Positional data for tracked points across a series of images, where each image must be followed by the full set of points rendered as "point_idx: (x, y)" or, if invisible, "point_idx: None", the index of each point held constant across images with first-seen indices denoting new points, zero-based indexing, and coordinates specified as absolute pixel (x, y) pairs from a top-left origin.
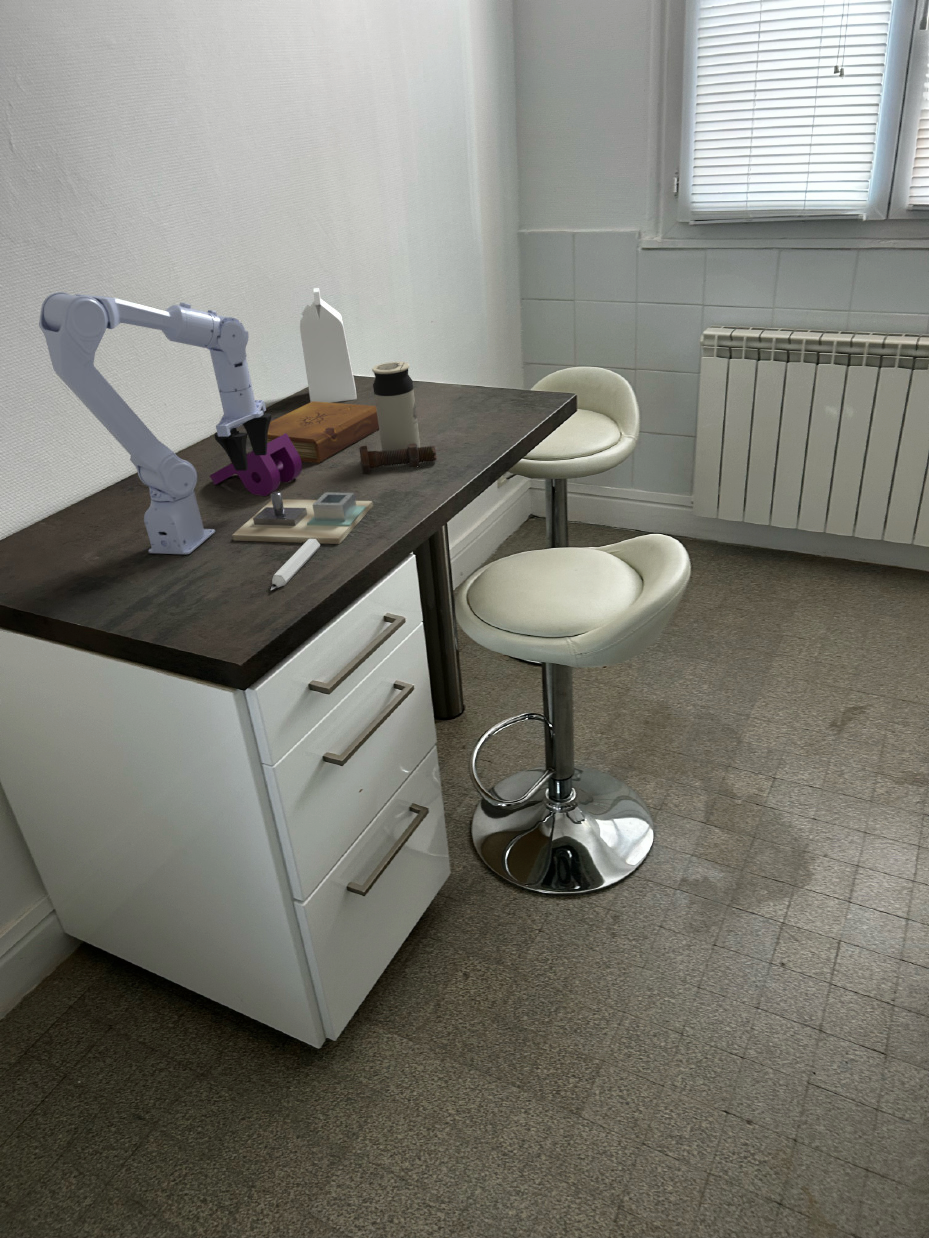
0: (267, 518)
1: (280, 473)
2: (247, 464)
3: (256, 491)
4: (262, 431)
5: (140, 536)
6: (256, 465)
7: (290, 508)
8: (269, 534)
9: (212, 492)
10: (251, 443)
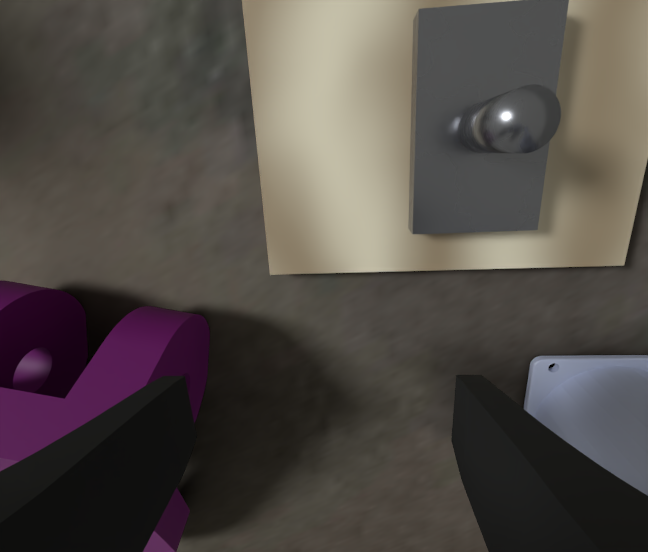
0: (544, 158)
1: (62, 350)
2: (469, 389)
3: (202, 373)
4: (35, 530)
5: None
6: None
7: (426, 99)
8: (642, 97)
9: (219, 501)
10: (156, 520)
